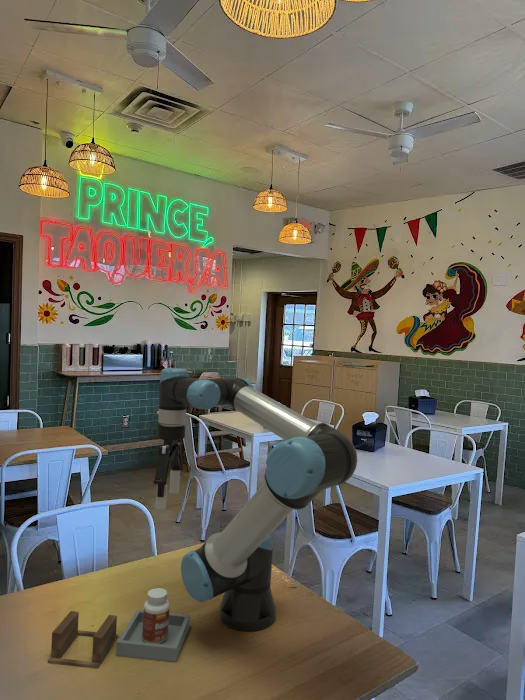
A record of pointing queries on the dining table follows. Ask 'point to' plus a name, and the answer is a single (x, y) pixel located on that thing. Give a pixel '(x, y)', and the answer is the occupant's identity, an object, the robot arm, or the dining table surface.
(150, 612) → the pill bottle
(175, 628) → the tray
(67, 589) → the dining table surface
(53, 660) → the wooden open frame
